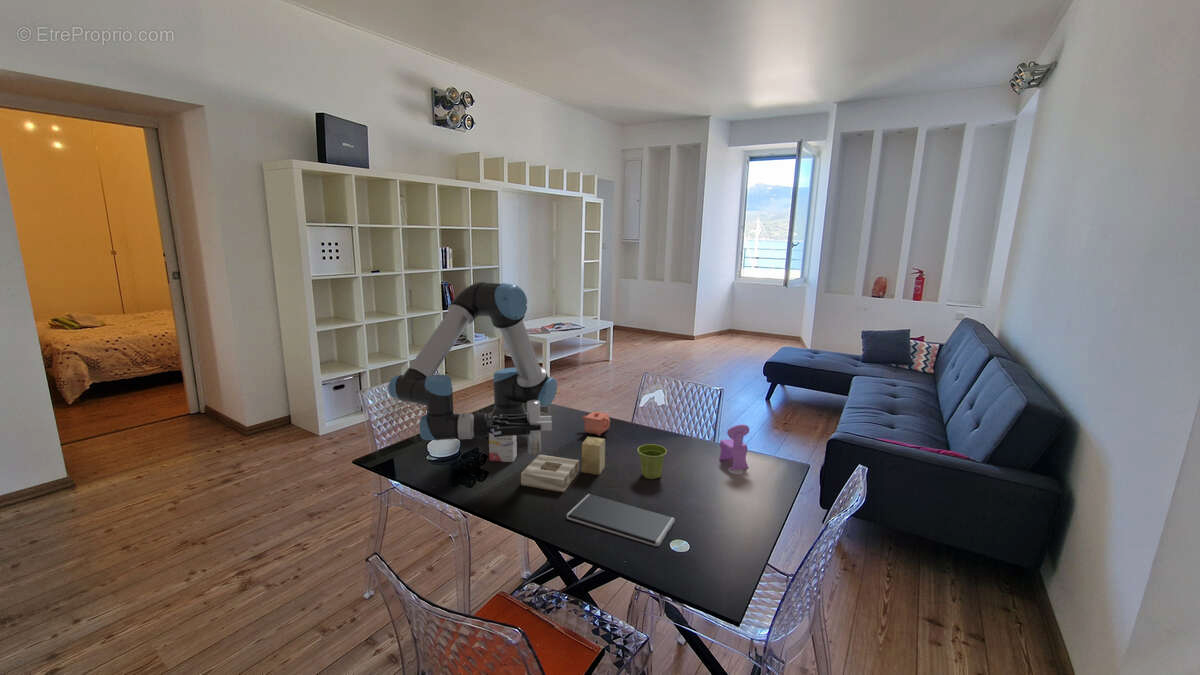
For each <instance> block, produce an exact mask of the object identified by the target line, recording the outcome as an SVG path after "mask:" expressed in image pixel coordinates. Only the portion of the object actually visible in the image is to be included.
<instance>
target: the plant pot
mask: <svg viewBox="0 0 1200 675" xmlns="http://www.w3.org/2000/svg"><path fill="white" fill-rule="evenodd" d="M667 452H668V450H667V448H665V447H664V446H662V445H661V444H659V445H658V444H651V443H648V444H647V443H646V444H643V445H640V446H638V448H637V453H638V455H639V459H640V467H641V468H640V469H641V475H642V476H643V477H644V478H645V479H649V480H654V479H659V478H661V476H662V471H663V466H664V460H665V457H666V455H667Z"/></svg>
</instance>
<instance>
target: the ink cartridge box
mask: <svg viewBox="0 0 1200 675" xmlns="http://www.w3.org/2000/svg"><path fill="white" fill-rule="evenodd" d="M494 417H497V416H493V418H494ZM517 445H518V444H517V435H513V436H500V437H494V433H488V451H489V454H488V455H489V456H488V457H489V461H491V462H504V463H514V461H515V460H516V458H517V457H518V455H517V454H518V453H517V452H518V450H517Z"/></svg>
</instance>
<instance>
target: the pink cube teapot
mask: <svg viewBox="0 0 1200 675" xmlns="http://www.w3.org/2000/svg"><path fill="white" fill-rule="evenodd" d="M581 419H582V420H583V421H584V432H585V433H587V434H588V433H589V435H590V434H591V435H593V434H594V435H596V436H599V437H600V436H602V434H603V433H606V431H607V430H608V429H609V428H610V427H611V426H610V425H611V418H610V414H609V413H605V412H600V411H596V410H595V411H592V412H590V413H589V414H587V415H583V416H582V417H581Z"/></svg>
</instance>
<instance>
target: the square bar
mask: <svg viewBox="0 0 1200 675" xmlns="http://www.w3.org/2000/svg"><path fill="white" fill-rule="evenodd" d="M605 464H606V439H605V438H601V437H596V436H595V437H594V436H587V437H586V438H585V439H584V441H583V442H582V443H581V473H583V474H584V473H585V474H590V475H591V474H592V475H597V476H600V475H601V473H602V472H603V470H604V469H605Z"/></svg>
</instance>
